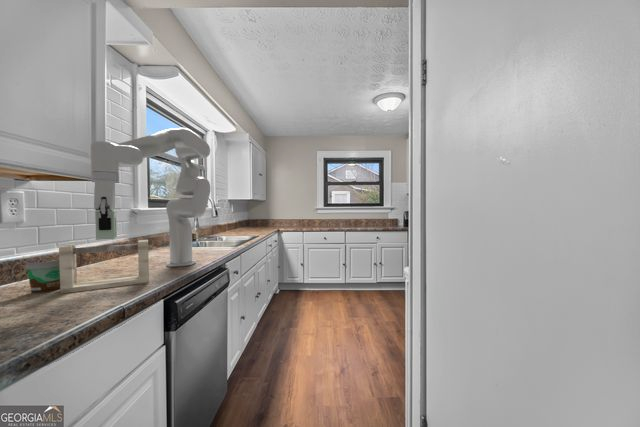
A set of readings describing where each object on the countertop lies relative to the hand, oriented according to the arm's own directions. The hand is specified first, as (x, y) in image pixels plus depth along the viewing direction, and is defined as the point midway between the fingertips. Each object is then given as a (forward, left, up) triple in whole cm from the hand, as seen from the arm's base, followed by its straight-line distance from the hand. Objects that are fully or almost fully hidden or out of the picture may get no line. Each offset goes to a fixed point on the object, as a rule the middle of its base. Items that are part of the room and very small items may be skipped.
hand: (106, 228), depth 96 cm
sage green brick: (0, 0, -3) cm, 3 cm away
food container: (-5, -15, -20) cm, 26 cm away
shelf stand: (0, 0, -20) cm, 20 cm away
